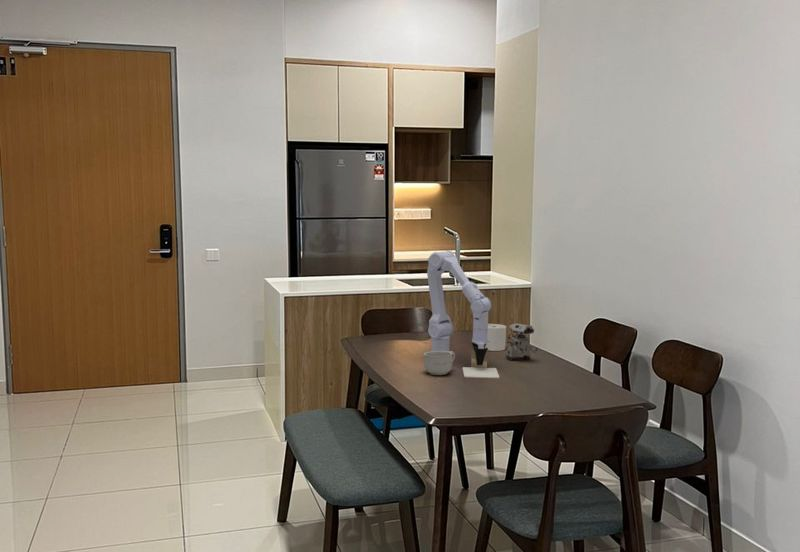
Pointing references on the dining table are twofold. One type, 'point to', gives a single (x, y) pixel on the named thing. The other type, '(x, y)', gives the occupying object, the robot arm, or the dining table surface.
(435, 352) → the teacup
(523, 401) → the dining table surface
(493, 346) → the toilet tissue
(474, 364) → the wooden block
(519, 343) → the figurine
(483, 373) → the mat
